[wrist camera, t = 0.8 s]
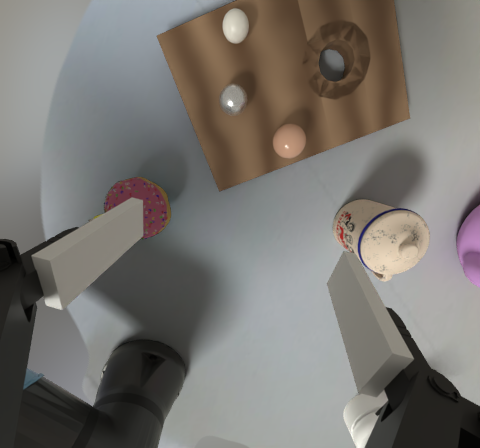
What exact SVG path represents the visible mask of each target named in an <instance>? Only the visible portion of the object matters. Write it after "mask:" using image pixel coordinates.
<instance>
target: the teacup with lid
mask: <svg viewBox="0 0 480 448" xmlns="http://www.w3.org/2000/svg"><path fill="white" fill-rule="evenodd" d="M333 233H334V236H335V238H336V240H337V241H338V243H339V244H341V245H342V246H343V247H344V248H346V249H347V250H348V251H349V252H351V253H354V254H356V255H357V257H358V259H360V260H361V261H362V263H363V264H364V265H365V266H366V267H367V268H368V269H370V270H371V271H372V273H373V274H374V275H375V276H376V277H377V278H378V279H379V280H381V281H388V280H390V279H391V278H392V275H393V274H398V273H401V272H404V271H406V270H408V269H410V268H411V267H413V266H414V265H416V264H417V263H418V262H419V261H420V260H421V258H422V257H423V256H424V254H425V252H426V250H427V248H428V245H429V240H430V233H429V229H428V226H427V224H426V222H425V221H424V220H423V218H422V217H420V216H419V215H418V214H417V213H415V212H413V211H411V210H408V209H401V208H394V207H391V206H388V205H384V204H381V203H378V202H374V201H371V200H367V199H360V200H355V201H352V202H350V203H348V204H346V205H345V206H344V207H343V208H341V210H340V211H339V212H338V213H337V215H336V217H335V219H334V223H333Z"/></svg>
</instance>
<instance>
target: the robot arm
mask: <svg viewBox="0 0 480 448" xmlns="http://www.w3.org/2000/svg"><path fill="white" fill-rule="evenodd" d="M142 237H143V200H140V199H136V198H130V199H128V200H126V201H125V202H123V203H121V204H120V205H118V206H116V207H114V208H113V209H111V210H109V211H108V212H106V213H104V214H102V215H101V216H99V217H97V218H95V219H94V220H92V221H90V222H89V223H87V224H85V225H83V226H82V227H80V228H79V227H75V228H71V229H68V230H65V231H63V232H61V233H59V234H58V235H56V236H55V237H52V238H50V239H49V240H47V242H46V241H45V242H43V243H41V244H40V245H38V246H36V247H34V248H32V249H31V250H29V251H27V252H25V253H23V254H21V255H20V253H19V250H18V247H17V244H16V243H15V242H14V241H12V240H8V239H0V448H158V444H159V440H160V436H161V432H162V428H163V424H164V421H165V419H166V417H167V415H168V413H169V411H170V409H171V407H172V405H173V403H174V401H175V400H176V399H177V397H178V396H179V394H180V392H181V389H182V387H183V382H184V378H185V366H184V363H183V361H182V359H181V357H180V356H179V355H178V354H177V353H176V352H175V351H174V350H173V349H171V348H170V347H168V346H166V345H164V344H162V343H159V342H155V341H150V340H137V341H132V342H128V343H126V344H123V345H121V346H120V347H118V348H117V349H116V350H115V351H114V352H113V353H112V354H111V356H110V358H109V359H108V361H107V362H106V364H105V366H104V368H103V371H102V374H101V383H100V385H99V388H98V392H97V396H96V400H95V403H94V405H93V407H92V406H91V405H89V404H88V403H86V402H84V401H83V400H81V399H79V398H78V397H76V396H74V395H73V394H71V393H69V392H68V391H66V390H64V389H63V388H61V387H59V386H58V385H56V384H54V383H53V382H51V381H49V380H48V379H46V378H44V377H43V376H44V375H43V374H41V373H40V374H38V373H36V372H34V371H32V370H29V369H28V368H27V364H28V358H29V352H30V346H31V340H32V334H33V328H34V323H35V316H36V311H37V305H36V301H38V300H39V299H40V298H41V297H43V296H44V299H45V303H46V305H47V306H50V307H53V308H57V309H61V310H63V309H64V308H65V307H66V306H67V305H69V304H70V303H71V302H72V301H73V300H74V299H75V298H76V297H77V296H78V295H79V294H81V293H82V292H83V291H84V290H85V289H86V288H87V287H88V286H89V285H90V284H91V283H93V282H94V281H95V280H96V279H97V278H98V277H99V276H100V275H101V274H102V273H103V272H105V271H106V270H107V269H108V268H109V267H110V266H111V265H112V264H113V263H114V262H115V261H117V260H118V259H119V258H120V257H121V256H122V255H123V254H124V253H125V252H126V251H127V250H129V249H130V248H131V247H132V246H133V245H134V244H135V243H136V242H137V241H138V240H139V239H141V238H142ZM327 286H328V289H329V293H330V296H331V300H332V303H333V307H334V310H335V314H336V317H337V320H338V324H339V327H340V331H341V334H342V338H343V341H344V345H345V348H346V352H347V355H348V359H349V362H350V366H351V369H352V372H353V376H354V379H355V383H356V386H357V390H358V393H362V394H365V395H369V396H373V397H376V398H377V397H378V396H379V395H380V394H381V393H382V392H383V391H385V393H386V396H387V398H388V401H387V402H386V403H385V404H384V405H383V406H382V407H381V408H380V409H379V410H378V411H377V412H376V413H375V414H376V415H377V416H378V415H379V417H378V419H377V421H376V423H375V426H374V428H373V430H372V432H371V434H370V437H369V439H368V441H367V443H366V445H365V448H480V406H478V405H476V404H474V403H473V402H471V401H469V400H467V399H465V398H463V397H461V395H460V393H459V391H458V390H457V389H456V387H455V386H454V385H453V384H452V383H451V382H450V381H449V380H448V379H447V378H446V377H444V376H443V375H442V374H440V373H439V372H437V371H435V370H433V369H431V368H430V366H429V365H428V363H427V361H426V360H425V358H424V356H423V355H422V353H421V351H420V350H419V348H418V346H417V345H416V343H415V341H414V340H413V338H411V335H410V333H409V331H408V330H406V326H405V325H404V323H403V321H402V320H401V318H400V317H399V316H398V315H397V314H396V313H395V312H394V311H393V310H392V309H391V308H387V307H385V306H384V304H383V302H382V300H381V298H380V297H379V295H378V293H377V291H376V289H375V288H374V286H373V284H372V282H371V280H370V279H369V277H368V275H367V273H366V271H365V270H364V268H363V266H362V264H361V262H360V261H359V259H358V257H357V255H356V254H354V253H350V252H346V251H344V252H343V253H342V255H341V257H340V259H339V261H338V263H337V265H336V267H335V269H334V271H333V273H332V275H331V277H330V279H329V281H328V283H327Z"/></svg>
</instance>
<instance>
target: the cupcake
mask: <svg viewBox="0 0 480 448" xmlns="http://www.w3.org/2000/svg"><path fill="white" fill-rule="evenodd" d="M130 198H136V199H140V200H143V237H142V238H141V239H147V238H148V237H152V236H154V235H156V234H158V233H159V232H161V231H162V230H163V229H164V228H165V227H166V226H167V224H168V223H169V221H170V218H171V208H170V204H169V201H168V196H167V194H166V192H165V191H164V190H163V189H162V188H161V187H160V186H158V185H157V184H155V183H153V182H151V181H149V180H147V179H145V178H143V177H135V178H130V179H126V180H124V181H119V182H117V183H116V184H115V185H114V186H113V187H111V189H110V190H109V192H108V194H107V196H106V201H105V203H104V208H105V209H104V210H105V213H106V212H108V211H109V210H111V209H113V208H114V207H116V206H118V205H120V204H121V203H123V202H125V201H126V200H128V199H130ZM101 215H102V214H101ZM101 215H98V216H95V217H94V219H95V218H97V217H99V216H101ZM94 219H91V220H88V221H89V222H90V221H92V220H94Z"/></svg>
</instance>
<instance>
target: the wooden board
mask: <svg viewBox="0 0 480 448" xmlns="http://www.w3.org/2000/svg"><path fill="white" fill-rule="evenodd" d="M235 8H236V9H240V10H242V11H243V12H244V13H245V15H246V16H247V19H248V23H249V30H248V34H247V36H246V38H245V39H244V40H243V41H242V42H240V43H237V44H235V43H231V42H230V41H229V40H227V38H226V37H225V35H224V32H223V20H224V17H225V15H226V13H227V12H228V11H229V10H231V9H235ZM157 38H158V41H159V43H160V46H161V48H162V51H163V53H164V56H165V58H166V61H167V63H168V65H169V68H170V70H171V73H172V75H173V78H174V80H175V83H176V85H177V88H178V90H179V93H180V95H181V98H182V100H183V103H184V105H185V108H186V110H187V112H188V115H189V117H190V120H191V122H192V125H193V127H194V130H195V132H196V135H197V137H198V140H199V142H200V145H201V147H202V150H203V152H204V155H205V157H206V160H207V162H208V164H209V167H210V169H211V172H212V174H213V177H214V179H215V182H216V184H217V187H218V189H219V192H220V191H222V190H225V189H227V188H230V187H233V186H235V185H238V184H240V183H243V182H246V181H248V180H251V179H253V178H256V177H259V176H261V175H264V174H266V173H269V172H272V171H274V170H277V169H279V168H282V167H285V166H287V165H290V164H292V163H295V162H298V161H300V160H303V159H305V158H308V157H311V156H313V155H316V154H318V153H321V152H324V151H326V150H329V149H331V148H334V147H337V146H339V145H342V144H344V143H347V142H350V141H352V140H355V139H357V138H360V137H363V136H365V135H368V134H370V133H373V132H376V131H378V130H381V129H383V128H386V127H389V126H391V125H394V124H396V123H399V122H402V121H404V120H407V119H409V118H410V114H409V107H408V100H407V93H406V85H405V78H404V71H403V63H402V56H401V49H400V42H399V34H398V27H397V20H396V12H395V5H394V0H236V1H234V2H232V3H229V4H227V5H225V6H223V7H220V8H218V9H216V10H214V11H211V12H209V13H207V14H205V15H202V16H200V17H198V18H196V19H193V20H191V21H189V22H187V23H184V24H182V25H180V26H178V27H175V28H173V29H171V30H169V31H166V32H164V33H162V34H160V35H157ZM327 49H332V50H336V51H338V52H339V53H340V55H341V56H342V57H343V59H344V64H345V69H344V73H343V77H342V78H341V80H340V81H337V82H333V81H329V80H327V79H326V78H325V77H324V76H323V75H322V74H321V73H320V68H319V64H318V62H319V57H320V53H321V52H322V51H325V50H327ZM232 83H234V84H238V85H240V86H241V87H243V89H244V90H245V92H246V94H247V106H246V108H245V110H244V111H243V112H242V113H241V114H239V115H237V116H230V115H227V114H226V113H225V112H224V111H223V110H222V109H221V107H220V104H219V95H220V92H221V90H222V89H223V88H224V87H225V86H226V85H228V84H232ZM286 124H295V125H298V126H300V127H301V128H302V129H303V131H304V133H305V135H306V145H305V147H304V149H303V151H302V152H301V153H300V154H299V155H298V156H296V157H294V158H290V159H287V158H283V157H280V156H279V155H278V154H277V153H276V152H275V150H274V148H273V137H274V134H275V133H276V131H277V130H278V129H279V128H280V127H281V126H283V125H286Z"/></svg>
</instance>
